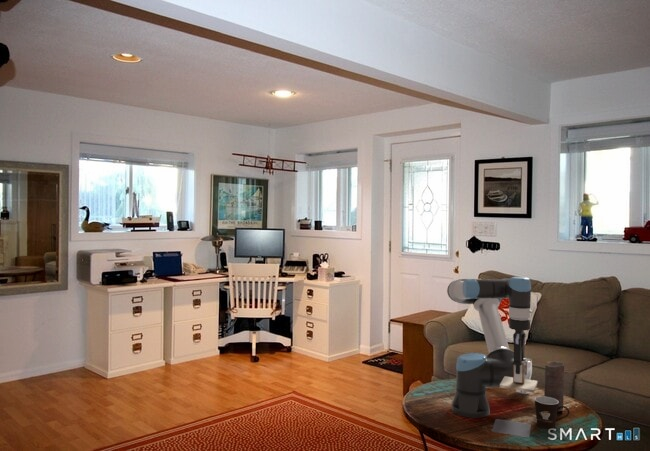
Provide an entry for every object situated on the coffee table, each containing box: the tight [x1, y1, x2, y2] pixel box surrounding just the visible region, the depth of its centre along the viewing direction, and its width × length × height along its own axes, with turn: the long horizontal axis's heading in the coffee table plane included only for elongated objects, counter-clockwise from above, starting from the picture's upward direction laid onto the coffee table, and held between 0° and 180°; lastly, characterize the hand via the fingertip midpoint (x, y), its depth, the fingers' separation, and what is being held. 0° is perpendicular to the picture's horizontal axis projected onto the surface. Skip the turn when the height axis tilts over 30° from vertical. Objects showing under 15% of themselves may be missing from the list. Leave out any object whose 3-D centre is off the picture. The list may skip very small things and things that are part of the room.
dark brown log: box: [544, 361, 565, 412], centre depth 218 cm, size 8×7×20 cm
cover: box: [498, 361, 538, 393], centre depth 198 cm, size 12×12×9 cm
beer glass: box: [515, 357, 533, 395], centre depth 240 cm, size 7×7×15 cm
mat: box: [491, 418, 532, 439], centre depth 199 cm, size 13×13×1 cm
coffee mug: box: [533, 395, 570, 429], centre depth 201 cm, size 12×9×10 cm
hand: (518, 380), depth 199 cm, fingers closed on cover, 4 cm apart
